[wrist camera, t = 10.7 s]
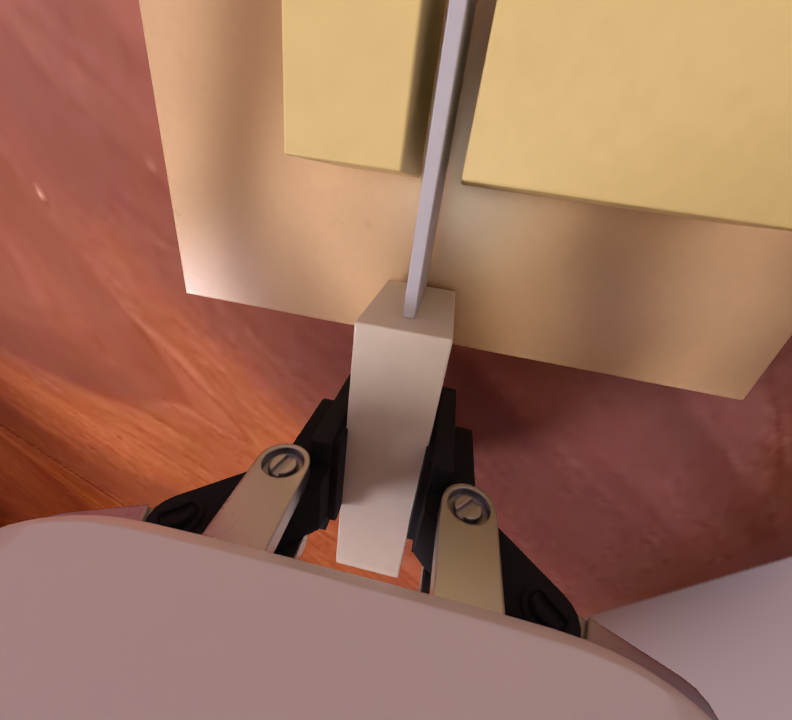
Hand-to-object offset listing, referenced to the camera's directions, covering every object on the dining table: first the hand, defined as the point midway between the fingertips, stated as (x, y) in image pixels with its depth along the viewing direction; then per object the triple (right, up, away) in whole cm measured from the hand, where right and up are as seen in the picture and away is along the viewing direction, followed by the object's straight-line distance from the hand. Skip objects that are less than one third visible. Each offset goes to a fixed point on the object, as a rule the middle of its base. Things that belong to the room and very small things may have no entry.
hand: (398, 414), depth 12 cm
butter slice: (0, +9, -3) cm, 10 cm away
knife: (+1, +5, -1) cm, 5 cm away
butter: (+6, +8, -4) cm, 10 cm away
